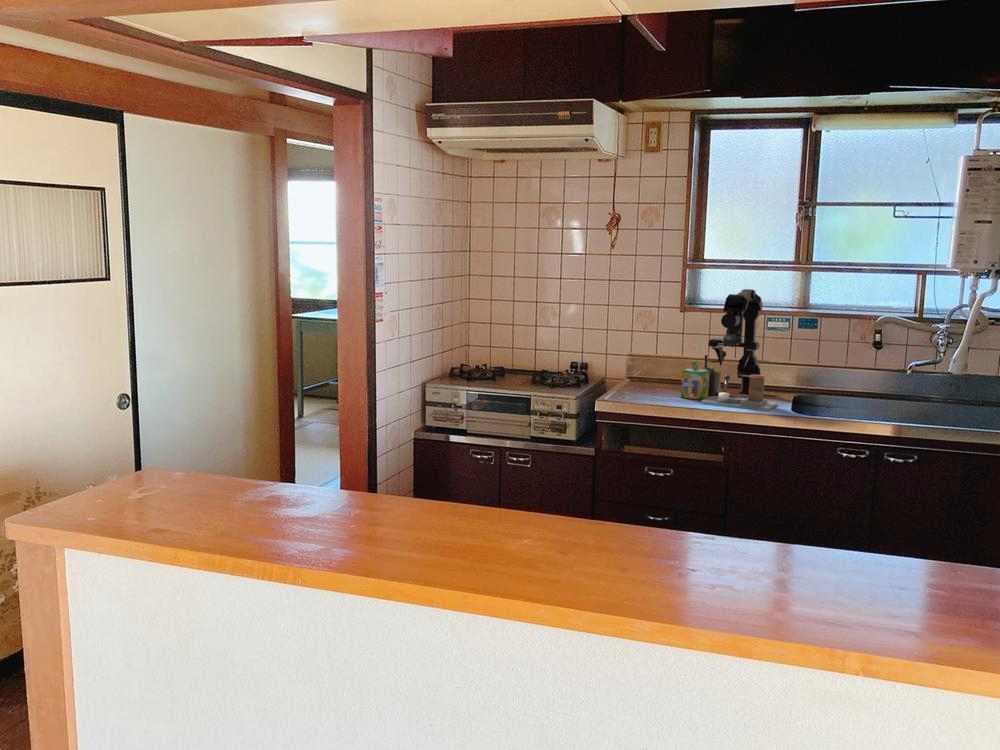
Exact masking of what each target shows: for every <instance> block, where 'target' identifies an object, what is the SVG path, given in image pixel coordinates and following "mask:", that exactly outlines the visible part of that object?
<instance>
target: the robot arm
mask: <svg viewBox="0 0 1000 750" xmlns="http://www.w3.org/2000/svg"><path fill="white" fill-rule="evenodd" d="M762 311H763V300H762V297H761V296H759V294H757V293H756V290H754V289H749V288H748V289H745V288H744V289H742V290H741V291H740V292H737V293H735V294H733V293H731V294H730V293H729V294H728V295H727V296H726V298H725V302H724V306H723V309H722V312H725V314H724V315H723V316H721V319H720V320H721V321H720V323H721V325H722V327H723V328H725V329H726V332H725V334H724V336H723V338H710V339H709V340H708V347H709V348H710V347H711V349H712V350H714V351H715V354H716V356H717V360H719V362H718V363H719V365H720V366H722V365H723V362H722V352H723V351H724V350H723V349H724V348H723V347H730V348H743V353H742V354H743V355H742V356H741V358H740V359H739V361H738V364H737V368H736V369H737V370H736V373H737V379H741V387H740V390H738V393H739V392H744V393H743V394H748V393H749V379H750V377H749V375H751V374H753V375H762V374H761V368H760V365H759V360H758V358H757V357H756V354H755V352H756V351H757V350H759V349H760V342H759V341H756V334H757V333H756V331H757V320H758V318H759V317H760V316H761V314H762V313H761V312H762ZM743 324H744V329H743ZM743 331H744V335H743Z"/></svg>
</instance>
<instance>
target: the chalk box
mask: <svg viewBox="0 0 1000 750" xmlns="http://www.w3.org/2000/svg"><path fill="white" fill-rule="evenodd" d="M691 363H692V368H686V369H683V370H681V387H680V391H681V392H680V399H685V398H689V400H700V401H702V400H704V399H706V398H707V397H708V395H709V375H710V370H703V369H700V368H698V365H697V361H692V362H691Z"/></svg>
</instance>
